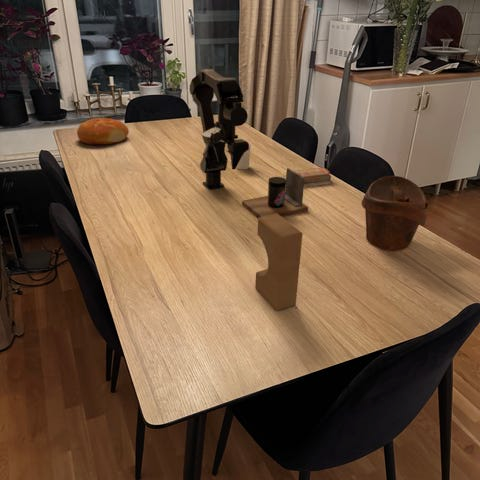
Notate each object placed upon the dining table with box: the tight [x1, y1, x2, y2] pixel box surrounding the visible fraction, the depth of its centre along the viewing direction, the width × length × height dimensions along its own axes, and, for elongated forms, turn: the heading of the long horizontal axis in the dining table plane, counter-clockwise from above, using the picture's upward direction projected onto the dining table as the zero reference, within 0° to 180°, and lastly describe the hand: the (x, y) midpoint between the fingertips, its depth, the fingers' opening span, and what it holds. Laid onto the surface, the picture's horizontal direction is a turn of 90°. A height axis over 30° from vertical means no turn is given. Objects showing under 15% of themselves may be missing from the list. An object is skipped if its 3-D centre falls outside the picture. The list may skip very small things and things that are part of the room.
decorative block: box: [254, 214, 303, 311], centre depth 108 cm, size 11×6×20 cm, turn 26°
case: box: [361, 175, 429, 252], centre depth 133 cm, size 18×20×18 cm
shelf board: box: [241, 167, 309, 219], centre depth 154 cm, size 14×18×12 cm
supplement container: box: [267, 176, 286, 208], centre depth 153 cm, size 6×6×9 cm
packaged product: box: [280, 167, 334, 188], centre depth 178 cm, size 18×5×10 cm
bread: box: [76, 117, 130, 146], centre depth 218 cm, size 23×23×10 cm
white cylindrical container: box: [236, 141, 252, 170], centre depth 189 cm, size 7×7×10 cm
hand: (226, 165), depth 155 cm, fingers open, 9 cm apart
